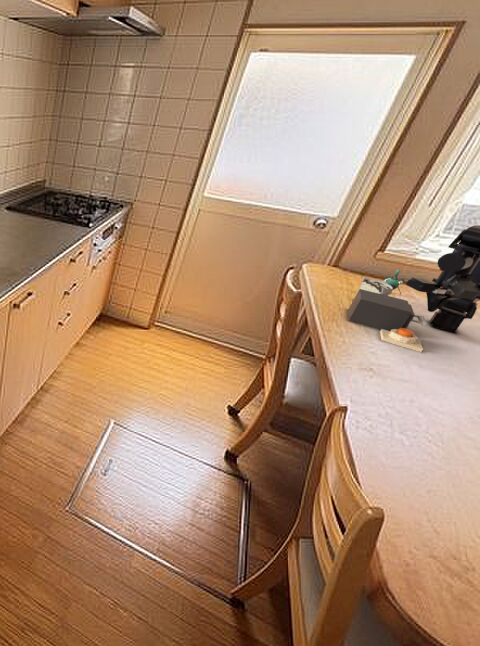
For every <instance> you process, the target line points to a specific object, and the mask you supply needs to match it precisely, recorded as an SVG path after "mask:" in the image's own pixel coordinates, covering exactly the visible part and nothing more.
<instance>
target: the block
mask: <svg viewBox="0 0 480 646" xmlns="http://www.w3.org/2000/svg"><path fill="white" fill-rule="evenodd" d="M397 332H398V329H392V330H391V331H387V330H384V329H381V330H379V335H380V339H381V341H383V342H385V343H389V344H393V345H396V346H399V347H403V348H406V349H410V350H413V351H415V352H416V351H417V352H420V353H422V351H424V347H423V345H422V342H421V339H419V338H418V336H416V335H415V333H414V334H413V335H412V337H406V336H402V335H400V334H398V333H397Z"/></svg>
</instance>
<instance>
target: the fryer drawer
mask: <svg viewBox="0 0 480 646" xmlns="http://www.w3.org/2000/svg"><path fill="white" fill-rule="evenodd" d="M409 306H410V309H411V312H412V313H411V314H410V316H409V318H408V319H407V321H406V322H405V324H404V325H403V327H402V328H405V329H408V327H409V326H410V324H411V322H413V323H416V324H420V326H422V327H423V326H424V327H425V326H427V322H426V319H425V316H424V315H422V314H419V315H417V314H415V312H414V310H413V306H412V304H410V303H409ZM414 318H417V319H418V320H417V319H414Z"/></svg>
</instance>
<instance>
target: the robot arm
mask: <svg viewBox="0 0 480 646" xmlns="http://www.w3.org/2000/svg"><path fill="white" fill-rule="evenodd" d="M448 248H450V249H453V251H452V252H449V253H445V254H443V255H441V256H440V257H439V258H438V260H437V267H438V268H439V269H438V270H439V271H441V272H440V274H439V275H438V276H437V278H436V277H435V278H434V277H433V278H432V280H431V281H429V280H427V279H425V278H419V277H411V278H408V280H407V281H406V283H405V286H407V287H409V288H412V289H413V290H415V291H417V292H420V293H425V294H426V302H427V304H426V305H427V311H428V312H429V313H434V314H432V316H431V318H430V319H429V323H430V325H431V327H432V328H435V329H439V330H442V331H445V332H450V333H454V334H458V331H457V330H458V329H459V328H460V326H461V324H462V323H463V322H464V320H465V319H466V320H468V319H469V320H472V319H473V317H474V316H475V314H476V312H477V310H478V301H479V300H480V225H478V224H474V225H471V226H468V227H467V228H464V229H462V231H461V232H460V233H459V234H458V235H457V236H456V237H455V238H454V240H453V241H452V242H450V244H449V245H448Z"/></svg>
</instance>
